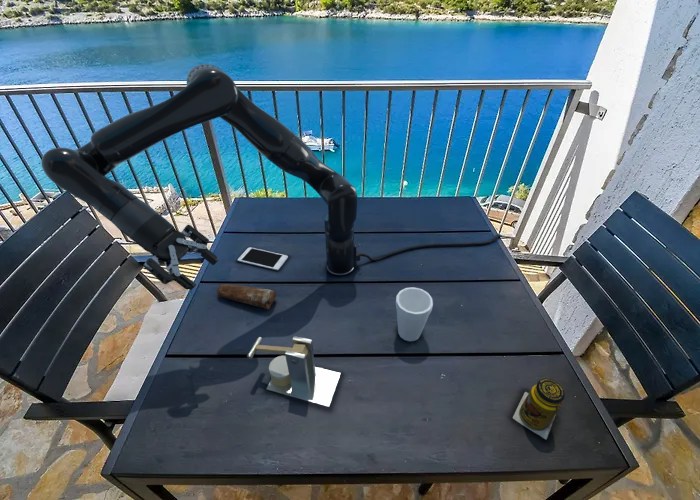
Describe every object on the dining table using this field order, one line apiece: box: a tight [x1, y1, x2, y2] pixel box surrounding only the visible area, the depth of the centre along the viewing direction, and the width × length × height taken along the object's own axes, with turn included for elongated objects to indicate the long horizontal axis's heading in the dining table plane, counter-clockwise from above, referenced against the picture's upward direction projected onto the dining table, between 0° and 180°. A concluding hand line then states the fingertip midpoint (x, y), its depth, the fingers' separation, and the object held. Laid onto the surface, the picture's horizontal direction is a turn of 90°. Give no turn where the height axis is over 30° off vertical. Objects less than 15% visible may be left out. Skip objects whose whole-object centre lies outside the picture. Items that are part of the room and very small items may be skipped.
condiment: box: [512, 378, 566, 440], centre depth 76 cm, size 7×8×12 cm
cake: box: [268, 355, 291, 386], centre depth 85 cm, size 6×6×4 cm
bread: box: [216, 283, 277, 310], centre depth 106 cm, size 6×19×6 cm, turn 72°
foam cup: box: [395, 286, 434, 342], centre depth 94 cm, size 10×9×13 cm
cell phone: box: [237, 246, 289, 271], centre depth 123 cm, size 8×16×1 cm, turn 71°
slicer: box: [266, 335, 341, 408], centre depth 81 cm, size 16×9×15 cm, turn 74°
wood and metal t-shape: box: [246, 336, 308, 360], centre depth 80 cm, size 14×6×2 cm, turn 74°
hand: (205, 274), depth 78 cm, fingers open, 8 cm apart
